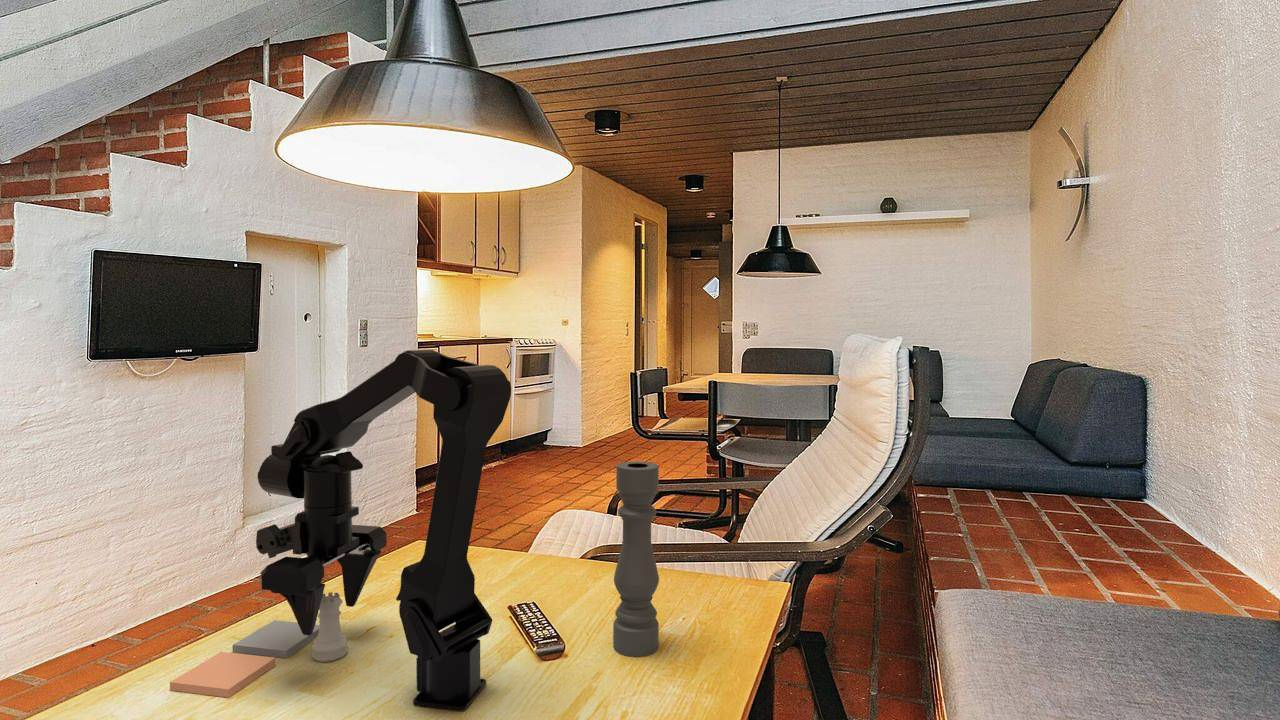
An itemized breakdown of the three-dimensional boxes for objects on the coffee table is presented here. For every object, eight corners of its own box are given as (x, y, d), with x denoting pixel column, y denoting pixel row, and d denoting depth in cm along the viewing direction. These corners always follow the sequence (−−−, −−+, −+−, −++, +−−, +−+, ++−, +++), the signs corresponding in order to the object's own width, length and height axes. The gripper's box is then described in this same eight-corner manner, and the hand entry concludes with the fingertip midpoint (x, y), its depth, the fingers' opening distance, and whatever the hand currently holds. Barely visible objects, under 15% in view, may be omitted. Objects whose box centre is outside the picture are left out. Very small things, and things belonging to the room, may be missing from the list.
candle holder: (605, 651, 96) (607, 467, 95) (623, 633, 102) (625, 459, 101) (648, 660, 94) (650, 472, 93) (664, 640, 100) (666, 463, 98)
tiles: (324, 632, 102) (324, 625, 101) (228, 697, 84) (228, 689, 84) (274, 626, 103) (274, 620, 103) (169, 690, 85) (169, 682, 85)
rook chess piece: (337, 644, 98) (336, 586, 97) (354, 654, 95) (354, 595, 95) (305, 656, 94) (304, 596, 94) (321, 666, 92) (320, 605, 91)
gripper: (317, 483, 104) (319, 589, 105) (219, 518, 86) (222, 645, 87) (388, 487, 102) (389, 595, 103) (302, 524, 84) (304, 654, 85)
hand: (330, 619), depth 94 cm, fingers open, 9 cm apart
